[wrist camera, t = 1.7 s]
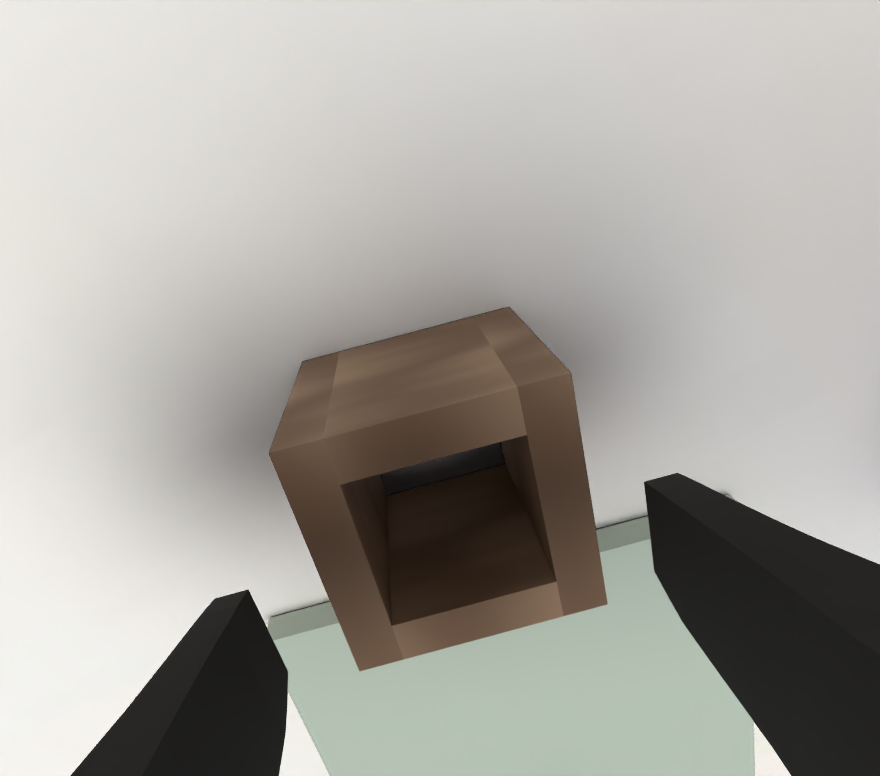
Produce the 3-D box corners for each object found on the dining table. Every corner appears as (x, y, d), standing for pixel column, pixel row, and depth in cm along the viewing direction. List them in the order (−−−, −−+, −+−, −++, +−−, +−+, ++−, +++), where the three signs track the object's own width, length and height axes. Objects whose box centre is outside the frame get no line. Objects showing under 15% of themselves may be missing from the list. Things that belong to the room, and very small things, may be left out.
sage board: (728, 494, 18) (748, 512, 17) (743, 854, 25) (757, 879, 24) (270, 617, 18) (264, 642, 17) (424, 941, 25) (427, 971, 24)
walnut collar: (509, 306, 15) (570, 372, 10) (543, 483, 17) (607, 604, 12) (302, 361, 15) (268, 452, 10) (363, 531, 17) (359, 671, 12)
